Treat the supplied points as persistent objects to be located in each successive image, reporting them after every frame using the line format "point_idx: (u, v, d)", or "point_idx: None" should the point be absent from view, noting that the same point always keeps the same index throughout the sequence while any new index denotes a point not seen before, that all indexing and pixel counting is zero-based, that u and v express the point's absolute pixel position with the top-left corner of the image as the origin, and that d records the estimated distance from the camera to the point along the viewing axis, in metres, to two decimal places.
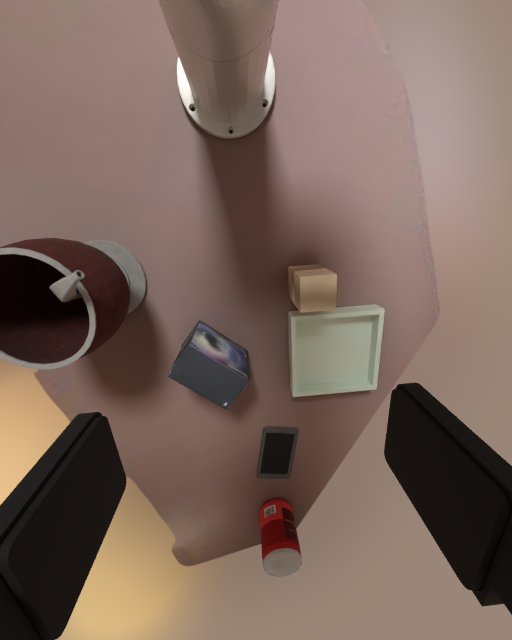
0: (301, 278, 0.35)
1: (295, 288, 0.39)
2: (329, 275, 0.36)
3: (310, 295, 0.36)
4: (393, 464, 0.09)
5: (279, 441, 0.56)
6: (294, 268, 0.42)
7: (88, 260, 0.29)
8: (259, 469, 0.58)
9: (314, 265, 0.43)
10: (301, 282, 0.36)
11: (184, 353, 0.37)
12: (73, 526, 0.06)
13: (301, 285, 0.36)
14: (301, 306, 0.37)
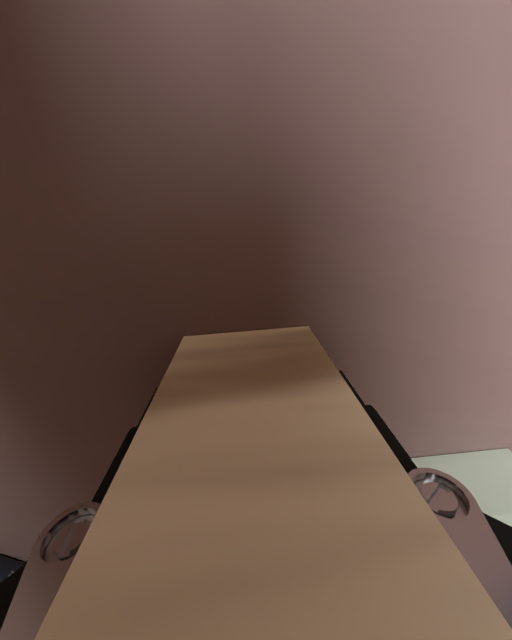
0: None
1: None
2: None
3: None
4: None
5: None
6: (188, 362, 0.09)
7: None
8: None
9: (290, 336, 0.10)
10: None
11: None
12: None
13: None
14: None
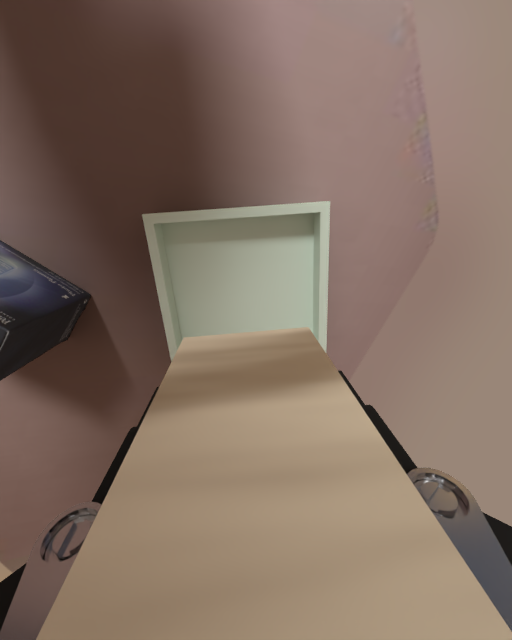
0: None
1: None
2: None
3: None
4: None
5: None
6: (188, 363, 0.09)
7: None
8: None
9: (290, 337, 0.10)
10: None
11: None
12: None
13: None
14: None
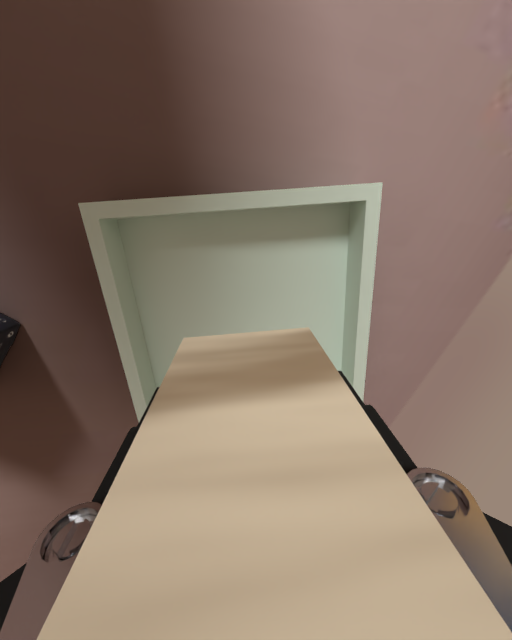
0: None
1: None
2: None
3: None
4: None
5: None
6: (188, 364, 0.09)
7: None
8: None
9: (290, 337, 0.10)
10: None
11: None
12: None
13: None
14: None
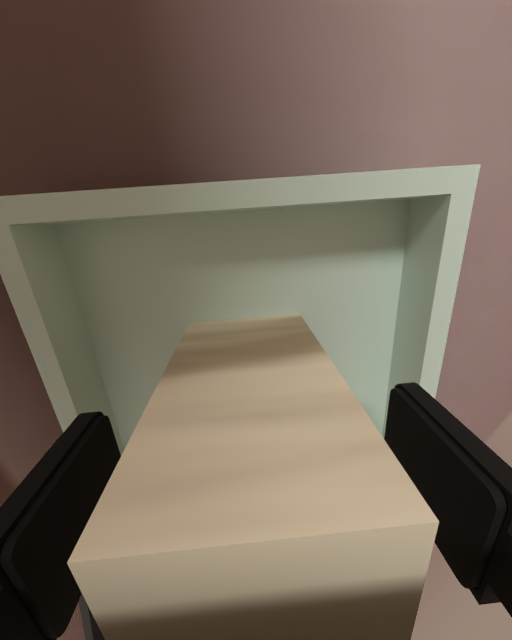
0: (86, 572, 0.04)
1: None
2: (363, 532, 0.04)
3: None
4: None
5: None
6: (194, 342, 0.10)
7: None
8: None
9: (283, 321, 0.11)
10: (97, 595, 0.04)
11: None
12: (75, 525, 0.06)
13: (105, 609, 0.04)
14: None
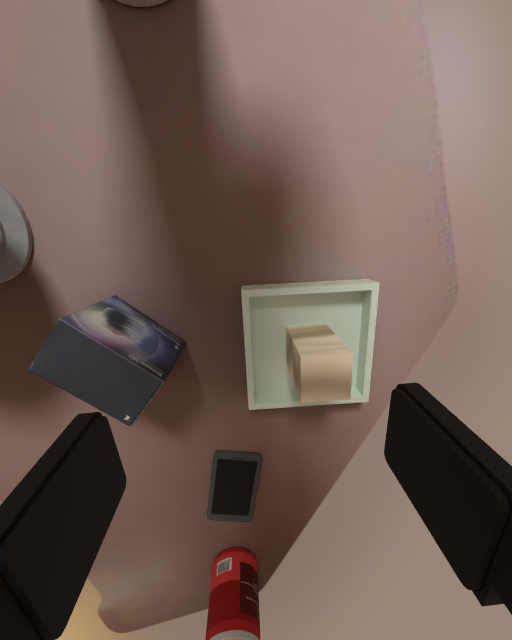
0: (302, 358, 0.25)
1: (294, 363, 0.29)
2: (342, 355, 0.25)
3: (314, 380, 0.26)
4: (393, 464, 0.09)
5: (236, 471, 0.41)
6: (293, 331, 0.31)
7: None
8: (210, 508, 0.43)
9: (320, 326, 0.33)
10: (302, 364, 0.25)
11: (52, 333, 0.23)
12: (73, 526, 0.06)
13: (302, 367, 0.25)
14: (302, 394, 0.26)
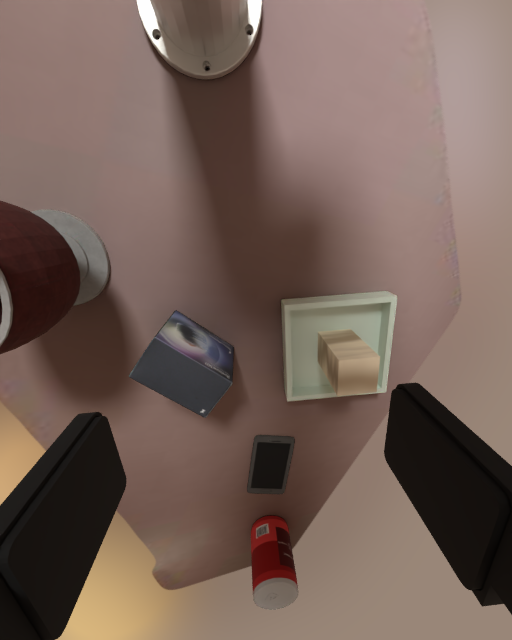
0: (340, 362, 0.32)
1: (329, 364, 0.35)
2: (371, 358, 0.32)
3: (349, 378, 0.33)
4: (393, 464, 0.09)
5: (273, 452, 0.48)
6: (326, 337, 0.38)
7: (5, 220, 0.21)
8: (249, 483, 0.50)
9: (346, 331, 0.39)
10: (340, 366, 0.32)
11: (149, 348, 0.29)
12: (73, 526, 0.06)
13: (339, 368, 0.32)
14: (338, 389, 0.33)
